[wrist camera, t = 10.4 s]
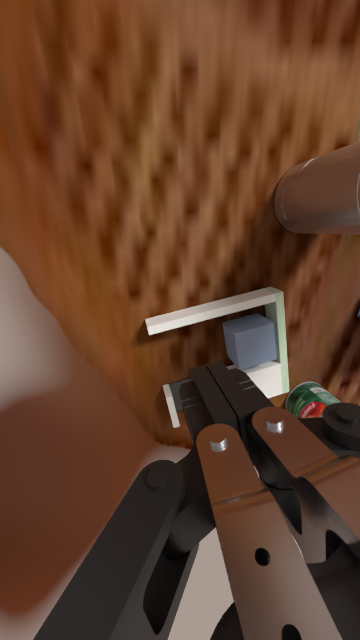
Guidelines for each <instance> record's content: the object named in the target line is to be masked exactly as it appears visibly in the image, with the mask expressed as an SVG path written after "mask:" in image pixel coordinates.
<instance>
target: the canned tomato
mask: <svg viewBox="0 0 360 640" xmlns="http://www.w3.org/2000/svg"><path fill="white" fill-rule="evenodd" d="M333 403H342V402H340V401H339V400H338V399H336V398H335V397H334V396H333V395H331V394H330V393H329V392H327V391H326V390H325V389H324V388H322V387H321V386H320V385H319V384H317V383H315V382H310V381H309V382H304V383H301V384H299V385H297V386H296V387H294V388H293V389H292V390H291V392H290V393H289V394H288V396H287V399H286V403H285V407H286V410H287V411H289V412H290V413H291V414H293V415H294V416H295V417H296V418H314V417H323V410H324V408H325V407H326V406H328V405H330V404H333Z"/></svg>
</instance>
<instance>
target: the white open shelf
mask: <svg viewBox="0 0 360 640" xmlns="http://www.w3.org/2000/svg"><path fill="white" fill-rule="evenodd" d="M264 304H265V313H266V318H267V319H268V320H270V321H272V322H273V323H274V332H275V344H276V355H277V359H275V360H272V361H268V362H265V363H262V364H259V365H255V366H252V367H249V368H245V369H242V370H241V371H243V372H245V373H246V374H247V375H248V376H249V377H250V379H251V381H253V382H254V383H255V384H256V386H257V387H258V388H259V389H260V390H261V391H262V392H263V393H264V395H265V396H266V397H267V398H270V397H274V396H277V395H280V394H283V393H286V392H289V378H288V362H287V346H286V330H285V313H284V297H283V291H281V290H278V289H275V288H273V287H267V288H263V289H259V290H255V291H252V292H248V293H244V294H240V295H236V296H232V297H229V298H225V299H221V300H217V301H213V302H209V303H205V304H202V305H198V306H194V307H190V308H186V309H182V310H178V311H175V312H171V313H167V314H163V315H159V316H155V317H151V318H148V319H145V321H146V325H147V329H148V333H149V335H152V334H156V333H160V332H163V331H167V330H171V329H175V328H178V327H182V326H186V325H190V324H193V323H197V322H201V321H205V320H208V319H212V318H216V317H219V316H223V315H227V314H231V313H234V312H238V311H242V310H246V309H249V308H253V307H257V306H261V305H264ZM227 368H228V370H230V369H233V368H237V366H236V365H235V364H234V365H230V366H227ZM237 369H238V368H237ZM190 381H191V379H190V378H188V379H185V380H181V381H178V382H174V383H171V384H166V385H163V389H164V393H165V397H166V400H167V404H168V408H169V412H170V415H171V419H172V423H173V427H174V428H176V427H179V426H180V424H179V420H178V416H177V413H176V412H178V411H182V410H183V408H182V404H181V399H180V395H179V390H180V386H181V384H183V383H186V382H190ZM169 385H170V387H169ZM170 389H171V390H170ZM175 408H176V409H175Z"/></svg>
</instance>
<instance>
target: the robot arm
mask: <svg viewBox="0 0 360 640" xmlns="http://www.w3.org/2000/svg"><path fill="white" fill-rule="evenodd" d="M274 208H275V214H276V216H277V219H278V221H279V222H280V224H281V225H282V226H283V227H284V228H285V229H287V230H288V231H290V232H293V233H311V234H360V141H359V142H356V143H354V144H351V145H348V146H346V147H343V148H340V149H338V150H335V151H333V152H330V153H327V154H325V155H322V156H319V157H316V158H314V159H311V160H308V161H306V162H303V163H300V164H298V165H296V166H294V167H292V168H291V169H290V170H288V171H287V172H286V173H285V175H284V176H283V177H282V179H281V180H280V182H279V184H278V186H277V189H276V192H275V197H274ZM189 375H190V379H191V381H190V382H186V383H183V384H181V386H180V390H179V395H180V399H181V404H182V408H183V412H184V416H185V420H186V423H187V426H188V429H189V432H190V435H191V438H192V441H193V444H194V445H193V447H192V449H191V451H190V452H189V454H188V455H187V456H186V457H185V458H183V459H182V460H180V461H179V462H177V463H176V464H175V463H174V462H172V461H169V460H158V461H155V462H153V463H151V464H149V465H147V466H146V467H145V468H144V469H142V471H141V472H140V473H139V474H138V476H137V478H136V479H135V481H134V482H133V484H132V485H131V487H130V489H129V490H128V492H127V493H126V495H125V496H124V498H123V500H122V501H121V503H120V504H119V506H118V507H117V509H116V511H115V512H114V514H113V515H112V517H111V518H110V520H109V522H108V523H107V525H106V526H105V528H104V529H103V531H102V533H101V534H100V536H99V537H98V539H97V540H96V542H95V544H94V545H93V547H92V548H91V550H90V551H89V553H88V554H87V556H86V558H85V559H84V561H83V563H82V564H81V566H80V567H79V569H78V570H77V572H76V574H75V575H74V576H73V578H72V579H71V581H70V583H69V584H68V586H67V587H66V589H65V590H64V592H63V594H62V595H61V597H60V599H59V600H58V602H57V603H56V605H55V606H54V608H53V609H52V611H51V613H50V614H49V616H48V617H47V619H46V620H45V622H44V623H43V625H42V627H41V628H40V630H39V631H38V633H37V634H36V636H35V638H34V639H33V640H167V639H168V636H169V633H170V630H171V628H172V624H173V622H174V619H175V616H176V613H177V610H178V607H179V604H180V601H181V598H182V595H183V592H184V589H185V586H186V583H187V581H188V578H189V575H190V571H191V568H192V566H193V563H194V560H195V557H196V554H197V551H198V547H199V542H200V541H201V540H202V539H203V538H204V537H205V536H206V535H207V534H209V533H210V532H211V531H212V530H213V529H214V528H215V527H216V529H217V533H218V537H219V542H220V546H221V550H222V554H223V558H224V563H225V567H226V571H227V575H228V579H229V583H230V588H231V592H232V596H233V600H234V602H233V603H232V604H231V606H230V607H229V608H228V609H227V611H226V612H225V613H224V614H223V616H222V618H221V619H220V621H219V622H218V624H217V626H216V628H215V630H214V633H213V634H212V637H211V639H210V640H360V406H358V405H354V404H350V403H333V404H330V405H328V406H326V407H325V408H324V410H323V417H314V418H296V417H295V416H294V415H293V414H291V413H290V412H289V411H287V410H285V409H282V408H278V407H275V406H274V405H273V404H272V403H271V402H270V400H269V399H268V398H267V397H266V396H265V395H264V393H263V392H262V391H261V390H260V389H259V388H258V387H257V386H256V384H255V383H254V382H253V381H251V379H250V377H249V376H248V375H247V374H246V373H245V372H243V371H241V370H239V369H237V368H233V369H230V370H228V368H227V367H226V366H225V364H224V363H223V362H222V361H217V362H214V363H210V364H207V365H204V366H200V367H197V368H193V369H190V370H189ZM254 465H255V467H256V469H257V471H258V473H259V477H258V476H257V473H256V471H255V469H254ZM292 535H293V536H292ZM293 537H294V538H293ZM294 539H295V540H296V542H297V544H298V546H299V548H300V550H301V552H302V555H303V557H302V555H301V553H300V551H299V549H298V547H297V545H296V543H295V540H294ZM303 558H304V559H303Z"/></svg>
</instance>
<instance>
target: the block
mask: <svg viewBox="0 0 360 640" xmlns="http://www.w3.org/2000/svg"><path fill="white" fill-rule="evenodd" d="M222 325H223V331H224V337H225V343H226V350H227V356H228V357H229V358H230V359H231V360H232V362H233V363H234V364H235V365H236V366H237V368H238V369H239V370H242V369H245V368H249V367H252V366H255V365H259V364H262V363H265V362H268V361H272V360H275V359H277V355H276V344H275V332H274V323H273V322H272V321H270V320H268V319H267V318H265V317H264V316H262V315H260V314H259V313H255V314H251V315H248V316H244V317H240V318H237V319H233V320H230V321H226V322H223V323H222Z"/></svg>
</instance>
